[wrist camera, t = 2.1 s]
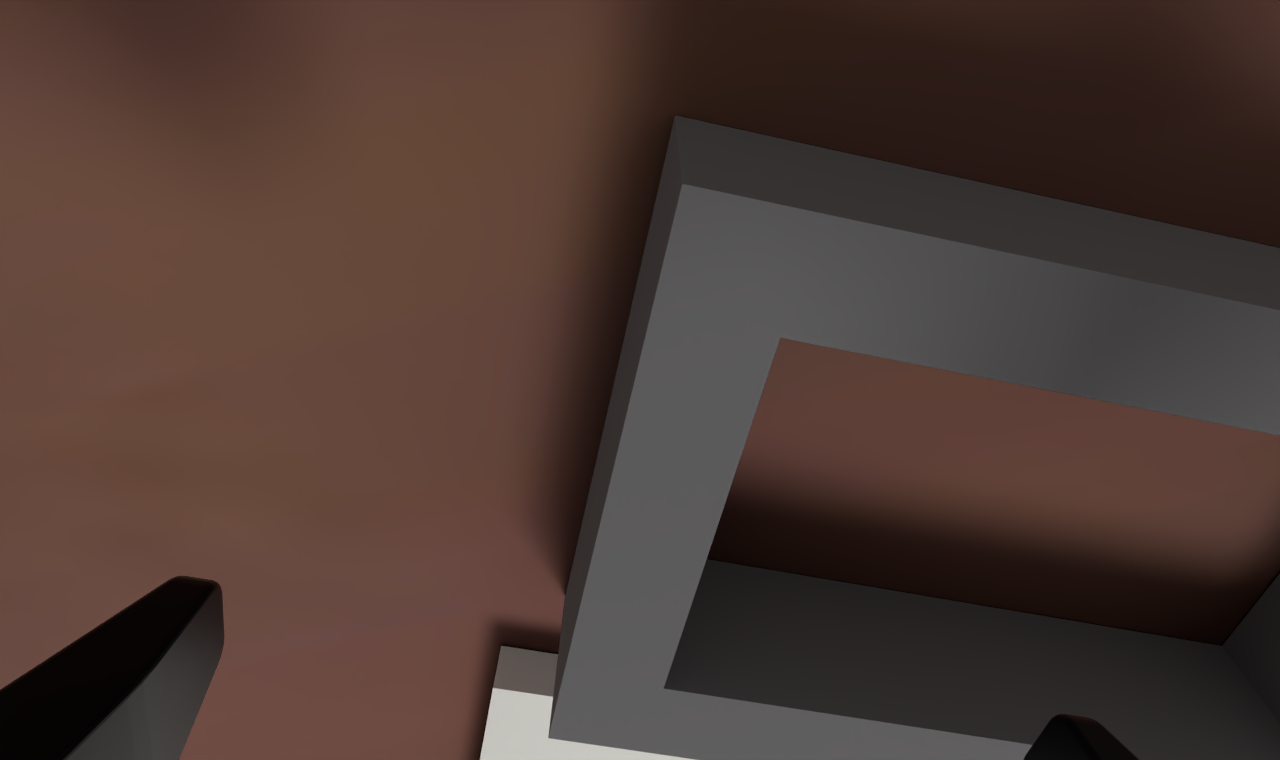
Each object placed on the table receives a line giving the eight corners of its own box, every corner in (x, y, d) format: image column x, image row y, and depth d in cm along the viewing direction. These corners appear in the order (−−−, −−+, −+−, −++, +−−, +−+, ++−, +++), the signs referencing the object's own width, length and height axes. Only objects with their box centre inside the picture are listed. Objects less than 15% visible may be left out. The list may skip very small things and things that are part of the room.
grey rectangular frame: (565, 598, 16) (548, 738, 13) (674, 114, 11) (681, 182, 9) (1248, 708, 17) (1356, 855, 15) (1588, 315, 13) (1829, 426, 10)
